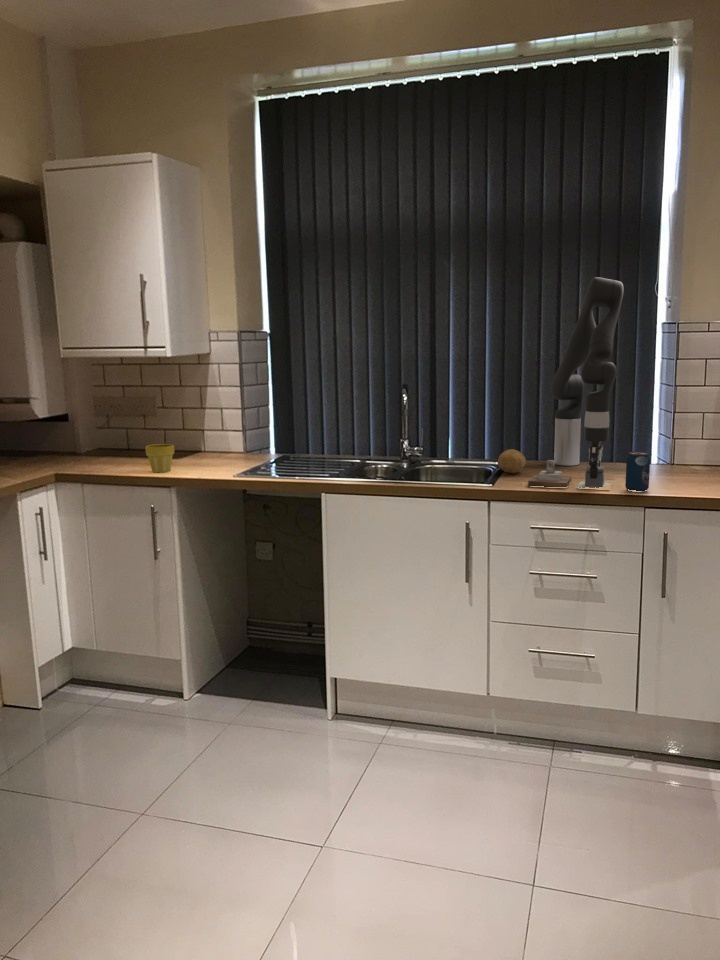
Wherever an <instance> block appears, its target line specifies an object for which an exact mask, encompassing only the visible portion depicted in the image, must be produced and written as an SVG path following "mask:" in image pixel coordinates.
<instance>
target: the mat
mask: <svg viewBox="0 0 720 960" xmlns="http://www.w3.org/2000/svg"><path fill="white" fill-rule="evenodd" d="M611 484H612V485H613V483H612V482H611V483H610V482H604V486H609V485H611ZM577 487H579V488H581V487H582V488H585V487H588V486H585V481H579V483H578V484H577V486H576V488H577ZM589 488H595V487H589ZM596 488H599V487H596Z"/></svg>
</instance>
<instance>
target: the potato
mask: <svg viewBox="0 0 720 960" xmlns="http://www.w3.org/2000/svg"><path fill="white" fill-rule="evenodd" d="M526 462H527V459H526V457H525V455H523V453H521V451H519V450H518V449H517V450H516V449H513V448H511V449H506V450H504V451H503V452H502V453H501V454H499V457H498V459H497V463H498V466H499V469H501V470H502V471H504V472H505V473H506V472H507V474H508V473H509V474H516V473H518V472H521V471H522V470H523V469H524V467H525V466H526Z"/></svg>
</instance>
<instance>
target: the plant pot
mask: <svg viewBox="0 0 720 960" xmlns="http://www.w3.org/2000/svg"><path fill="white" fill-rule="evenodd" d="M144 448H145V455H146V456H147V458H148V462H149V464H150V468H151V471H152V473H156V472H162V473H168V472H167V471H169V472H171V471H172V470H171V468H172V463H173V456H174V454H175V445H174V444H171V443H155V444H149V445H148V444H147V445H146V446H145V447H144Z"/></svg>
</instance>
